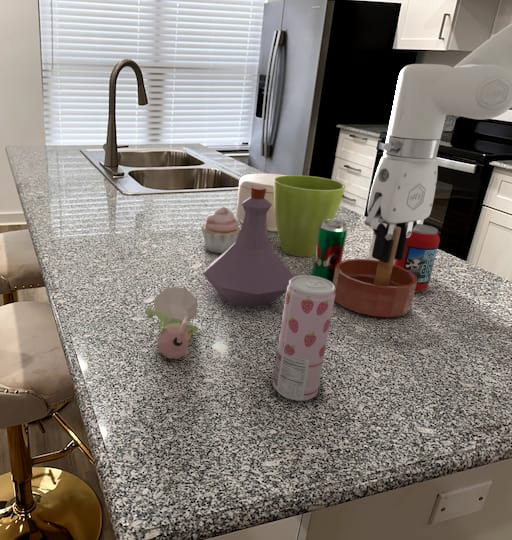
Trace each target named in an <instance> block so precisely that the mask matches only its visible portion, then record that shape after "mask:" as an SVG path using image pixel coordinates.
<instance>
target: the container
mask: <svg viewBox="0 0 512 540" xmlns="http://www.w3.org/2000/svg"><path fill="white" fill-rule="evenodd" d="M279 176H288V175H285V174H278V173H250V174H246V175H244V176H242V177H240V180H239V182H238V191H237V202H236V212H235V216H236V218H237V219H238V220H240V222H241V224H243V222H244V217H245V210H244V208H243V205H242V203H243V202H244V201H246V200H247V199H249V198H250V197H251V187H252V186H260V187H265V188H267V189H266V193H265V197H264V198H265V199H266V200H267V201H269V202H270V203H271V204H272V206H271V207H270V209H269V210H268V212H267V219H266V224H267V230H268V232H278V230H277V224H276V216H275V206H274V179H275V178H276V177H279Z"/></svg>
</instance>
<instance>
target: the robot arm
mask: <svg viewBox="0 0 512 540" xmlns="http://www.w3.org/2000/svg"><path fill="white" fill-rule="evenodd" d="M397 79H398V80H397V84H396V88H395V89H396V90H395V93H394V94H395V95H394V100H393V105H392V110H391V115H390V119H389V123H388V129H387V135H386V139H385V143H384V146H383V148H384V149H383V154H382V156H381V158H380V160H379V163H378V166H377V168H376V172H375V175H374V178H373V182H372V184H371V189H370V193H369V198H368V203H367V216H366V217H365V220H364V225H365V226H367V227H369V228H370V229H372V231H373V232H374V235H375V236H376V238H375V243H374V248H373V253H372V257H373V258H375V259H377V260H380V261H382V262H384V263H387V262H389V261H390V256H391V252H392V247H393V243H394V240H392V239H391V238H392V235H393V231H394V227H395V226H398V227H400V228H401V233H400V237H399V242H398V246H397V251H396V255H395V259H396V260H402V259H403V256H404V251H405V247H406V243H407V238H406V237H410V235H411V233H412V229H413V228H414V227H415V226H416V224H418V223H419V222H420V221H422V220H423V219H424V220H426V219H427V218H429V217H430V215H431V213H432V209H433V204H434V200H435V196H436V189H437V182H438V168H439V159H438V158H437V157H438V151H439V147H440V144H441V139H442V135H443V130H444V125H445V121H446V119H447V116H457V117H462V118H467V119H472V120H480V121H481V120H490V119H494V118H497V117H499V116H501V115H503V114H505V113H506V112H508V111H509V110H510V109H511V108H512V22H511V23H510V24H508V25H507V26H505V27H504V28H502V29H501V30H499V31H498V32H497V33H495V34H494V35H493V36H491V37H490V38H488V39H486V41H484V42H483V43H482V44H481V45H479V46H478V47H476V49H474V50H473V51H472V52H471V53H469V54H468V55H467V56H465V57H464V58H463V59H462V60H461V61H460V62H458V63H457V64H456V65H455V66H450V65H447V64H439V63H438V64H437V63H436V64H435V63H412V64H407V65H405V66H404V67H403V68H402V69H401V70H400V72H399V75H398V78H397ZM384 223H385V224H387V227H385V226H384V225H383V224H384Z"/></svg>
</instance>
